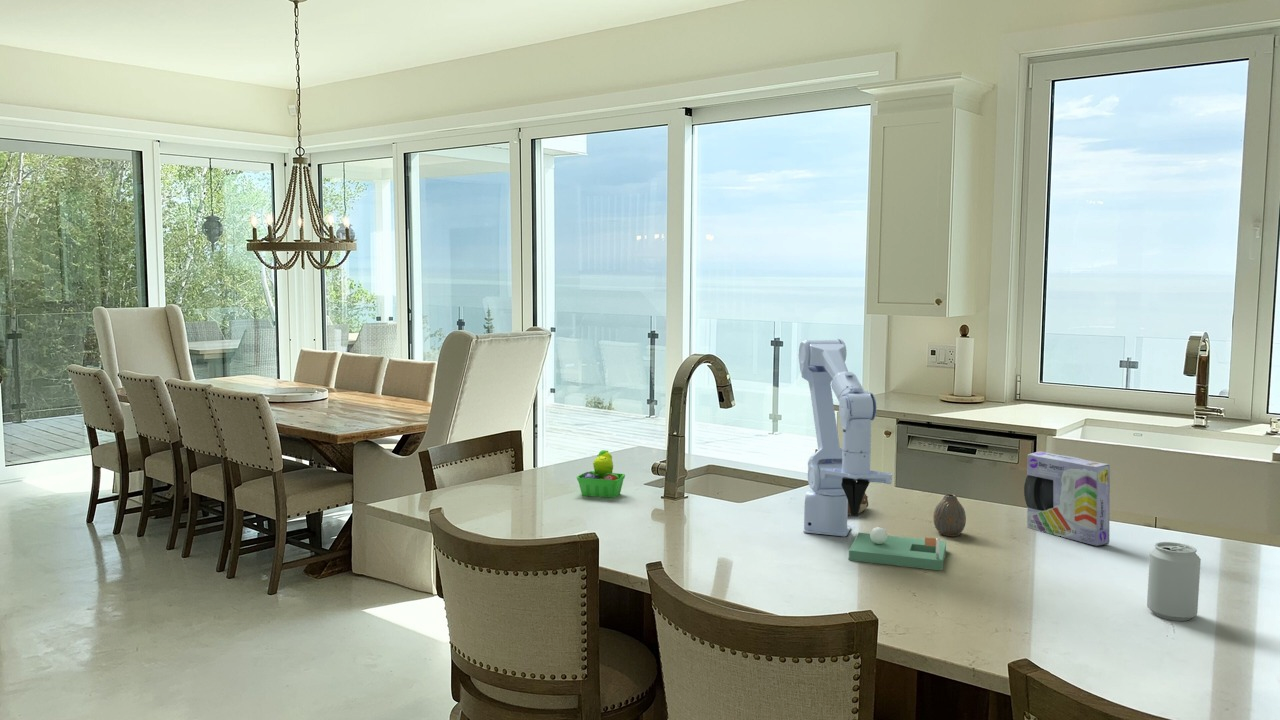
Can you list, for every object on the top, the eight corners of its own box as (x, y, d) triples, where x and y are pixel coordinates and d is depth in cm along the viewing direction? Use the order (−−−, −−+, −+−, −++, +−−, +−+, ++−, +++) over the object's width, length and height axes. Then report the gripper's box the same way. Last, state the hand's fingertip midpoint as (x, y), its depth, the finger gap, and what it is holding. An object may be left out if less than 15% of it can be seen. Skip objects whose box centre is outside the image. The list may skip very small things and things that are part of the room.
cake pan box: (1020, 526, 213) (1024, 450, 212) (1035, 523, 216) (1039, 449, 214) (1095, 548, 196) (1099, 466, 195) (1110, 545, 199) (1114, 464, 197)
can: (1137, 607, 162) (1140, 540, 161) (1177, 606, 162) (1181, 539, 161) (1164, 623, 154) (1169, 553, 153) (1207, 622, 155) (1211, 552, 154)
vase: (967, 538, 203) (968, 499, 202) (934, 536, 205) (936, 498, 204) (963, 530, 210) (964, 492, 209) (931, 528, 211) (932, 490, 210)
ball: (868, 545, 191) (869, 528, 191) (871, 540, 194) (871, 524, 194) (886, 546, 190) (886, 530, 190) (888, 542, 193) (888, 525, 193)
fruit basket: (575, 496, 241) (575, 453, 239) (587, 489, 249) (587, 447, 248) (617, 499, 237) (617, 456, 236) (627, 492, 246) (627, 450, 245)
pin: (924, 567, 183) (925, 537, 182) (924, 566, 184) (925, 536, 183) (938, 569, 182) (939, 539, 181) (938, 568, 183) (939, 538, 182)
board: (848, 559, 188) (849, 550, 187) (858, 541, 201) (858, 532, 200) (941, 570, 181) (942, 560, 181) (945, 550, 194) (946, 541, 194)
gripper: (817, 451, 191) (816, 516, 192) (890, 456, 186) (888, 522, 187) (823, 445, 198) (822, 508, 199) (893, 450, 192) (892, 514, 194)
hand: (854, 514), depth 193 cm, fingers closed
